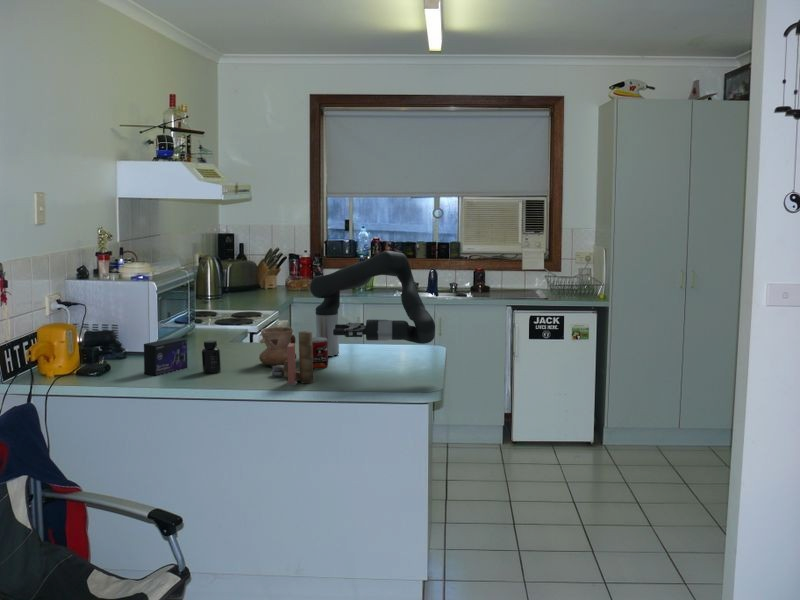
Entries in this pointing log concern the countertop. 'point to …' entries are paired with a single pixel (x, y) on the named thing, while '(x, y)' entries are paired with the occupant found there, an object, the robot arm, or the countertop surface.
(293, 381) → the block
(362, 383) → the countertop surface
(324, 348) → the canned food
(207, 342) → the supplement bottle
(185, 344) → the box
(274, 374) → the pivot disc
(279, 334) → the ceramic jug
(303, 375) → the brown l-shaped piece
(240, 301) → the countertop surface
